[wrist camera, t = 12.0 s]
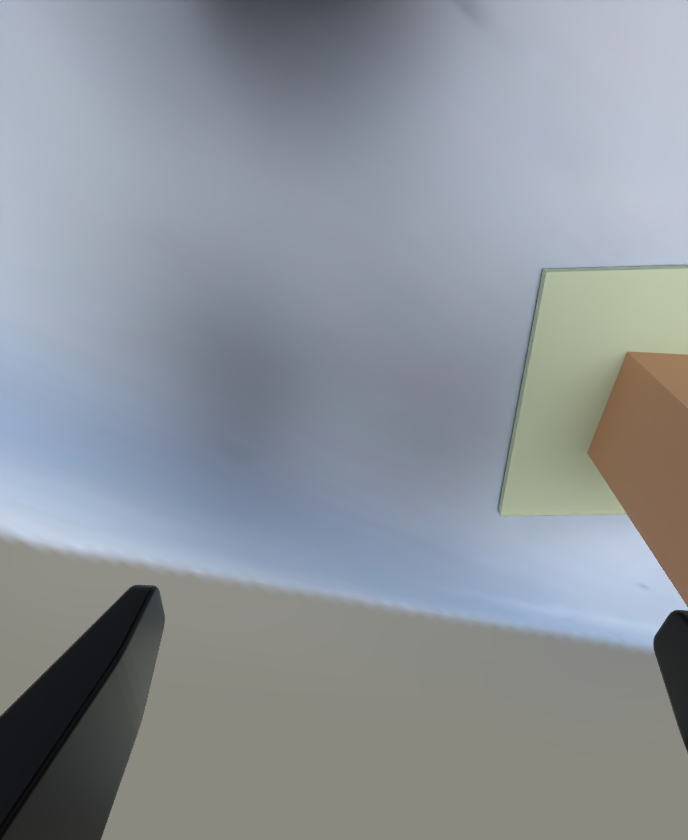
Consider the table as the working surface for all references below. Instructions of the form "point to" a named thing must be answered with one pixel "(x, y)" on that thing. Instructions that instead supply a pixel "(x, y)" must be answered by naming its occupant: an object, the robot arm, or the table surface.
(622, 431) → the block
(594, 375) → the mat
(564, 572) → the table surface
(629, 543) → the table surface
